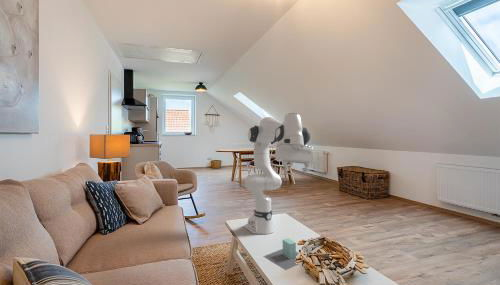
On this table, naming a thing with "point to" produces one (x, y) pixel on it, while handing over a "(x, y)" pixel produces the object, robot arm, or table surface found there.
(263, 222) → the robot arm
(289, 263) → the mat
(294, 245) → the box
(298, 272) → the table surface
